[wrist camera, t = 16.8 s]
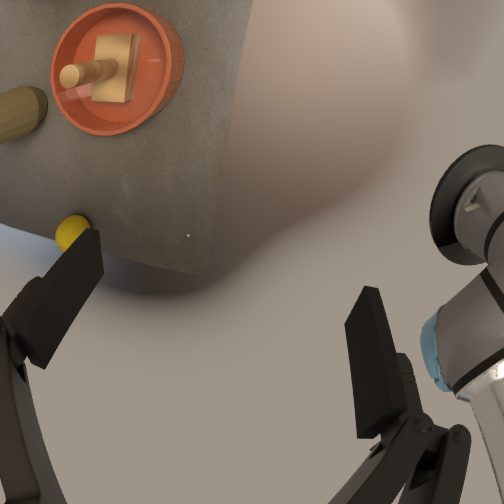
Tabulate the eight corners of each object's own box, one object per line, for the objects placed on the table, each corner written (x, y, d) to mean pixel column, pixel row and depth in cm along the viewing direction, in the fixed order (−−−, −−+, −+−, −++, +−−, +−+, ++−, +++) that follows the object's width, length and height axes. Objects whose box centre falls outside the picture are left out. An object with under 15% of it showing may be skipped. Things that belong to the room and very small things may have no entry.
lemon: (72, 230, 51) (50, 257, 44) (70, 203, 47) (45, 228, 41) (98, 237, 51) (77, 265, 44) (97, 210, 48) (73, 236, 41)
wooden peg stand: (108, 35, 31) (54, 36, 21) (142, 34, 31) (93, 32, 22) (102, 96, 36) (50, 117, 26) (134, 98, 37) (86, 119, 27)
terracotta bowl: (157, -15, 28) (141, -22, 23) (204, 94, 37) (193, 101, 32) (58, 48, 32) (35, 51, 28) (100, 143, 41) (81, 155, 37)
